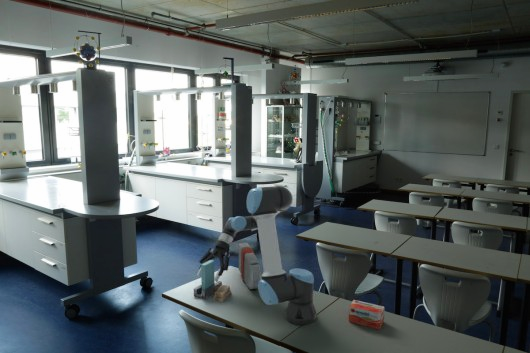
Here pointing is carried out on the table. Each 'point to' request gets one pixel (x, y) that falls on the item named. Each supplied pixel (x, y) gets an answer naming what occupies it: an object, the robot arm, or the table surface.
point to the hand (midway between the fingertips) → (206, 278)
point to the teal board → (207, 274)
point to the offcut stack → (222, 293)
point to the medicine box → (366, 314)
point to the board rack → (206, 290)
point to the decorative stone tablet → (249, 266)
